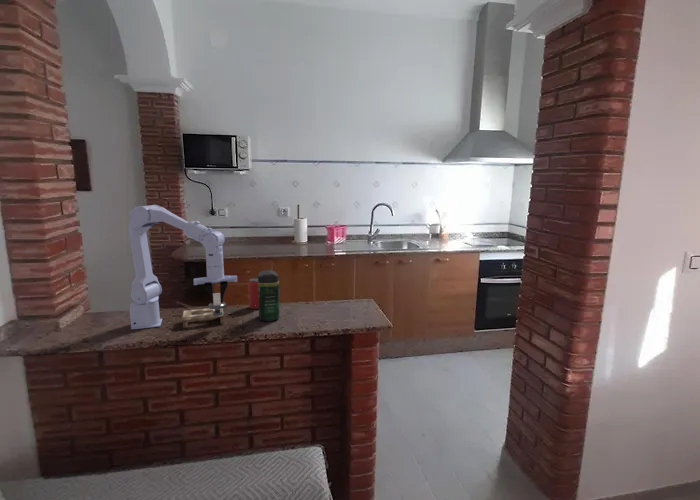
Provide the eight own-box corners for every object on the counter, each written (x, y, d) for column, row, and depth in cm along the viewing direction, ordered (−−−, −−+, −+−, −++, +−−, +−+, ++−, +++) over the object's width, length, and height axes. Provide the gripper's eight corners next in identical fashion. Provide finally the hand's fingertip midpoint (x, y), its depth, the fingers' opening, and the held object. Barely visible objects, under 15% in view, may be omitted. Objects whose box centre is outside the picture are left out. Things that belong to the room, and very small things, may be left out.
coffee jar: (280, 321, 149) (279, 273, 145) (259, 322, 147) (257, 274, 143) (278, 312, 158) (277, 268, 155) (258, 314, 156) (256, 269, 153)
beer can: (246, 306, 166) (245, 279, 164) (261, 303, 170) (260, 276, 168) (252, 310, 161) (251, 282, 158) (267, 307, 164) (266, 279, 162)
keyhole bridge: (183, 328, 141) (182, 317, 140) (184, 320, 148) (183, 310, 148) (223, 323, 146) (223, 313, 145) (223, 316, 153) (222, 306, 152)
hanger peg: (208, 317, 137) (207, 297, 135) (208, 312, 142) (207, 293, 141) (226, 315, 139) (225, 296, 137) (226, 310, 144) (225, 291, 143)
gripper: (192, 269, 131) (194, 307, 133) (237, 266, 136) (238, 303, 138) (193, 265, 138) (195, 302, 140) (235, 262, 142) (237, 298, 145)
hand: (217, 302), depth 140 cm, fingers closed on hanger peg, 2 cm apart
